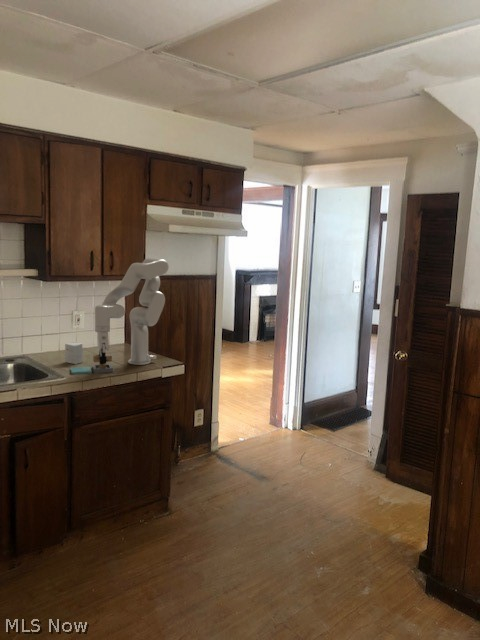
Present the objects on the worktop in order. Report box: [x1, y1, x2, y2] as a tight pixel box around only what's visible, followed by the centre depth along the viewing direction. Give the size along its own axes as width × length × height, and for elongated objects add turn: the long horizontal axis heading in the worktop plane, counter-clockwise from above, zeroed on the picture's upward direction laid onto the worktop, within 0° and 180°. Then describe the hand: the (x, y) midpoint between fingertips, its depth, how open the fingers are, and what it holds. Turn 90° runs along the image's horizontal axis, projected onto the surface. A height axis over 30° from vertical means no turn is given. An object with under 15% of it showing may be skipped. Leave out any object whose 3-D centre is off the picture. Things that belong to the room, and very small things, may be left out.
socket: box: [91, 363, 115, 374], centre depth 282 cm, size 10×10×2 cm
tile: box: [69, 366, 93, 375], centre depth 278 cm, size 10×10×1 cm
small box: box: [64, 342, 84, 365], centre depth 295 cm, size 8×6×10 cm
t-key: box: [92, 353, 113, 368], centre depth 281 cm, size 9×5×8 cm, turn 111°
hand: (102, 362), depth 281 cm, fingers closed on t-key, 4 cm apart
